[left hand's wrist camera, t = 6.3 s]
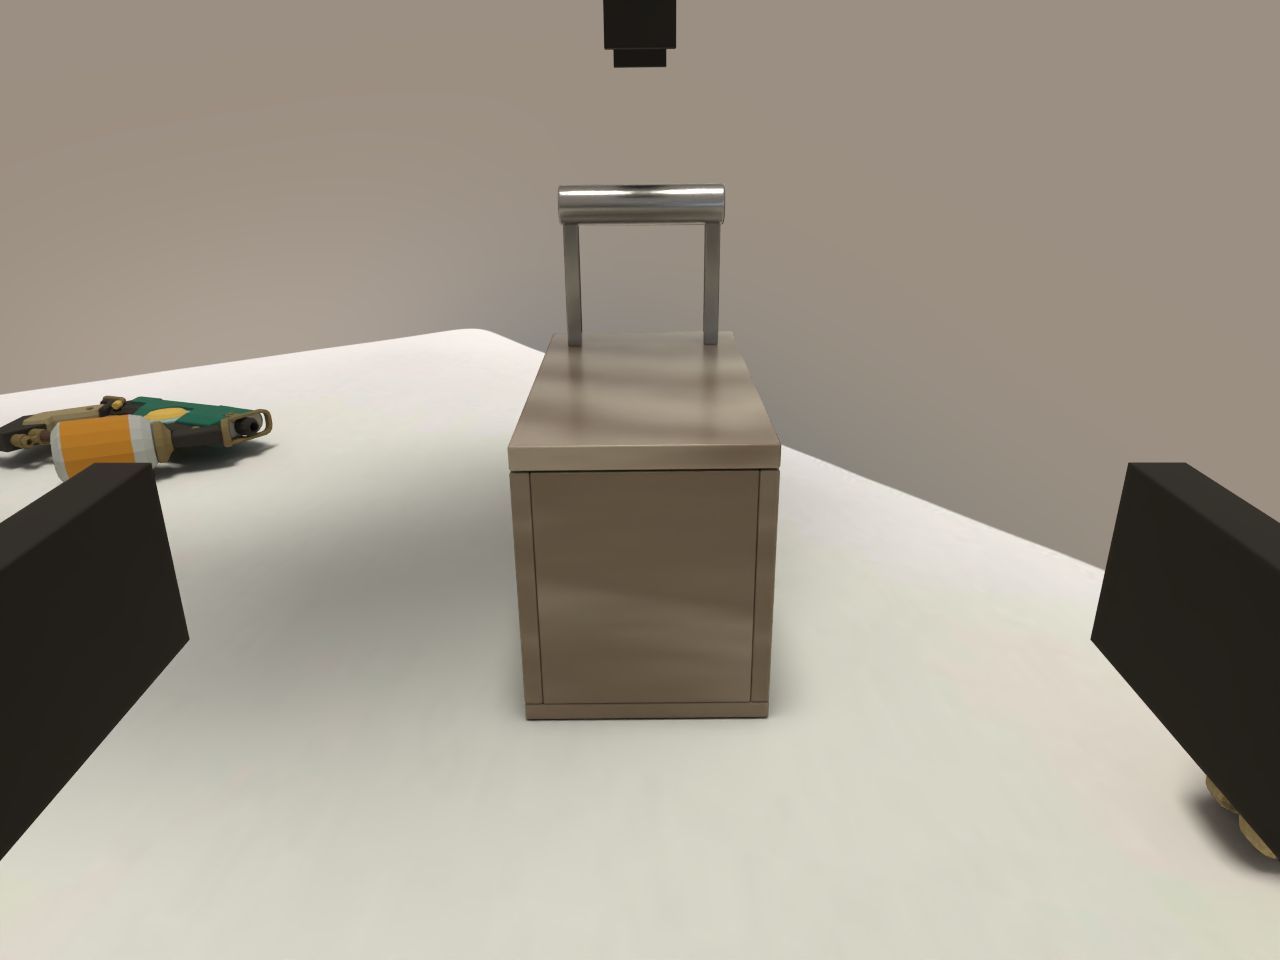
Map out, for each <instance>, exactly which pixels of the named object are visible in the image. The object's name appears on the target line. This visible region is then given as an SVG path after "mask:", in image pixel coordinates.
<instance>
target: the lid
mask: <svg viewBox="0 0 1280 960" xmlns="http://www.w3.org/2000/svg"><path fill="white" fill-rule="evenodd" d="M558 214H559V223H560V225H561V226H563V237H564V262H565V286H566V311H567V333H554V334H553V336H552V339H551V341H550V344H549V346H548V349H547V351H546V354H545V356H544V359H543V361H542V364H541V366H540V369H539V371H538V374H537V376H536V379H535V381H534V384H533V386H532V388H531V391H530V393H529V396H528V398H527V401H526V403H525V406H524V408H523V411H522V413H521V416H520V418H519V421H518V423H517V426H516V428H515V431H514V433H513V436H512V438H511V441H510V443H509V446H508V462H509V469H510V471H558V470H654V469H750V468H779V467H780V459H781V444H780V441H779V439H778V437H777V434H776V432H775V430H774V427H773V425H772V423H771V421H770V418H769V416H768V414H767V411H766V409H765V407H764V404H763V402H762V400H761V398H760V395H759V393H758V391H757V388H756V386H755V384H754V381H753V379H752V377H751V375H750V372H749V370H748V368H747V365H746V363H745V361H744V358H743V356H742V354H741V351H740V349H739V347H738V345H737V342H736V340H735V338H734V335H733V333H732V332H731V331H718V314H719V266H720V224H723V222H724V215H725V188H724V184H723V183H697V184H610V185H560V186H559V188H558ZM627 225H628V226H630V225H705V249H704V316H703V332H626V333H582V313H581V283H580V256H579V226H627Z"/></svg>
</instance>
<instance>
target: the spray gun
mask: <svg viewBox="0 0 1280 960" xmlns="http://www.w3.org/2000/svg"><path fill="white" fill-rule="evenodd" d="M260 413H263V414H264V416H265V421H266V428H265V430H264V431H262V432H259V433H257V431H259V430H260V428H261V427H262V423H263V419H262V416H261V414H260ZM271 430H272V419H271V415H270V412H269V411H267V410H264V409H257V410H248V409H240V408H234V407H228V406H213V405H204V404H195V403H186V402H176V401H167V400H162V399H159V398H150V397H137V398H135V399H133V400H131V401H126V399H125V398H123V397H115V396H105V397H103V400H102V401H101V402H100V405H93V406H86V407H79V408H71V409H64V410H57V411H50V412H43V413H39V414H35V415H28V416H22V417H20V418H18V419H16V420H14V421H12V422H10V423H8V424H6V425H4V426H2V427H0V451H3V452H11V451H15V450H18V449H22V448H24V449H28V448H31V447H33V446H39V445H48V444H51V451H52V457H53V462H54V465H55V469H56V472H57V474H58V477H59V478H60V479H61V480H62V481H64V482H65V481H67V480H68V479H70V478H71V477H73V476H74V475H76V474H78V473H79V472H81V471H82V470H84V469H85V468H87V467H88V466H90V465H92V464H93V463H152V467H153V469H154V468H155V466H156V465H157V464H158V461H159V462H160V463H164V462H168V461H169V458H170V455H171V453H172V452H173V450H174V447H175V448H180V447H192V446H203V445H214V444H222V443H223V442H224V446H225V447H231V446H232V445H234V444H237V443H240V442H244V441H247V440H250V439H254V438H257V437H260V436H264V435H267V434H268V433H270V432H271ZM243 435H247V436H243Z"/></svg>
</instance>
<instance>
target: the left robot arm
mask: <svg viewBox="0 0 1280 960" xmlns="http://www.w3.org/2000/svg"><path fill="white" fill-rule="evenodd" d="M189 640H190V639H189V635H188V630H187V625H186V621H185V616H184V611H183V607H182V602H181V597H180V593H179V588H178V584H177V579H176V574H175V570H174V565H173V560H172V556H171V551H170V546H169V542H168V537H167V532H166V528H165V523H164V518H163V514H162V509H161V504H160V500H159V495H158V491H157V486H156V481H155V477H154V472H153V467H152V463H93V464H92V465H90V466H88V467H87V468H85V469H84V470H82V471H81V472H79V473H78V474H76V475H74V476H73V477H71V478H70V479H68V480H67V481H65V482H64V483H62V484H60V485H59V486H57V487H56V488H54V489H53V490H51V491H50V492H48V493H46V494H45V495H43V496H42V497H40V498H39V499H37V500H35V501H34V502H32V503H31V504H29V505H28V506H26V507H25V508H23V509H21V510H20V511H18V512H17V513H15V514H14V515H12V516H11V517H9V518H7V519H6V520H4V521H3V522H1V523H0V861H1V859H2V858H3V857H4V856H5V855H6V854H7V852H8V851H9V850H10V849H11V848H12V847H13V845H14V844H15V843H16V842H17V841H18V840H19V838H20V837H21V836H22V835H23V834H24V833H25V831H26V830H27V829H28V828H29V827H30V825H31V824H32V823H33V822H34V821H35V820H36V818H37V817H38V816H39V815H40V814H41V813H42V811H43V810H44V809H45V808H46V807H47V806H48V804H49V803H50V802H51V801H52V800H53V799H54V797H55V796H56V795H57V794H58V793H59V792H60V790H61V789H62V788H63V787H64V786H65V785H66V783H67V782H68V781H69V780H70V779H71V778H72V776H73V775H74V774H75V773H76V772H77V771H78V769H79V768H80V767H81V766H82V765H83V763H84V762H85V761H86V760H87V759H88V758H89V756H90V755H91V754H92V753H93V752H94V751H95V749H96V748H97V747H98V746H99V745H100V744H101V742H102V741H103V740H104V739H105V738H106V737H107V735H108V734H109V733H110V732H111V731H112V730H113V728H114V727H115V726H116V725H117V724H118V723H119V721H120V720H121V719H122V718H123V717H124V716H125V714H126V713H127V712H128V711H129V710H130V709H131V707H132V706H133V705H134V704H135V703H136V702H137V700H138V699H139V698H140V697H141V696H142V694H143V693H144V692H145V691H146V690H147V689H148V687H149V686H150V685H151V684H152V683H153V682H154V680H155V679H156V678H157V677H158V676H159V675H160V673H161V672H162V671H163V670H164V669H165V668H166V666H167V665H168V664H169V663H170V662H171V661H172V659H173V658H174V657H175V656H176V655H177V654H178V652H179V651H180V650H181V649H182V648H183V647H184V645H185V644H186V643H187V642H188V641H189ZM1090 640H1091V641H1092V642H1093V643H1094V644H1095V645H1096V647H1097V648H1098V649H1099V650H1100V651H1101V652H1102V654H1103V655H1104V656H1105V657H1106V658H1107V659H1108V661H1109V662H1110V663H1111V664H1112V665H1113V666H1114V668H1115V669H1116V670H1117V671H1118V672H1119V673H1120V675H1121V676H1122V677H1123V678H1124V679H1125V680H1126V682H1127V683H1128V684H1129V685H1130V686H1131V687H1132V689H1133V690H1134V691H1135V692H1136V693H1137V694H1138V696H1139V697H1140V698H1141V699H1142V700H1143V702H1144V703H1145V704H1146V705H1147V706H1148V707H1149V709H1150V710H1151V711H1152V712H1153V713H1154V714H1155V716H1156V717H1157V718H1158V719H1159V720H1160V721H1161V723H1162V724H1163V725H1164V726H1165V727H1166V728H1167V730H1168V731H1169V732H1170V733H1171V734H1172V735H1173V737H1174V738H1175V739H1176V740H1177V741H1178V742H1179V744H1180V745H1181V746H1182V747H1183V748H1184V749H1185V751H1186V752H1187V753H1188V754H1189V755H1190V756H1191V758H1192V759H1193V760H1194V761H1195V762H1196V763H1197V765H1198V766H1199V767H1200V768H1201V769H1202V771H1203V772H1204V773H1205V774H1206V775H1207V776H1208V778H1209V779H1210V780H1211V781H1212V782H1213V783H1214V785H1215V786H1216V787H1217V788H1218V789H1219V790H1220V792H1221V793H1222V794H1223V795H1224V796H1225V797H1226V799H1227V800H1228V801H1229V802H1230V803H1231V804H1232V806H1233V807H1234V808H1235V809H1236V810H1237V811H1238V813H1239V814H1240V815H1241V816H1242V817H1243V818H1244V820H1245V821H1246V822H1247V823H1248V824H1249V825H1250V827H1251V828H1252V829H1253V830H1254V831H1255V833H1256V834H1257V835H1258V836H1259V837H1260V838H1261V840H1262V841H1263V842H1264V843H1265V844H1266V845H1267V847H1268V848H1269V849H1270V850H1271V851H1272V852H1273V854H1274V855H1275V856H1276V857H1277V858H1278V859H1279V861H1280V523H1279V522H1277V521H1276V520H1274V519H1272V518H1271V517H1269V516H1268V515H1266V514H1265V513H1263V512H1262V511H1260V510H1259V509H1257V508H1255V507H1254V506H1252V505H1251V504H1249V503H1248V502H1246V501H1244V500H1243V499H1241V498H1240V497H1238V496H1237V495H1235V494H1234V493H1232V492H1230V491H1229V490H1227V489H1226V488H1224V487H1223V486H1221V485H1220V484H1218V483H1216V482H1215V481H1213V480H1212V479H1210V478H1209V477H1207V476H1206V475H1204V474H1202V473H1201V472H1199V471H1198V470H1196V469H1195V468H1193V467H1192V466H1190V465H1188V464H1187V463H1128V467H1127V472H1126V477H1125V481H1124V486H1123V491H1122V495H1121V500H1120V505H1119V509H1118V514H1117V519H1116V523H1115V528H1114V532H1113V537H1112V542H1111V546H1110V551H1109V556H1108V560H1107V565H1106V570H1105V574H1104V579H1103V584H1102V588H1101V593H1100V597H1099V602H1098V607H1097V611H1096V616H1095V621H1094V625H1093V630H1092V635H1091V639H1090Z"/></svg>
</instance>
